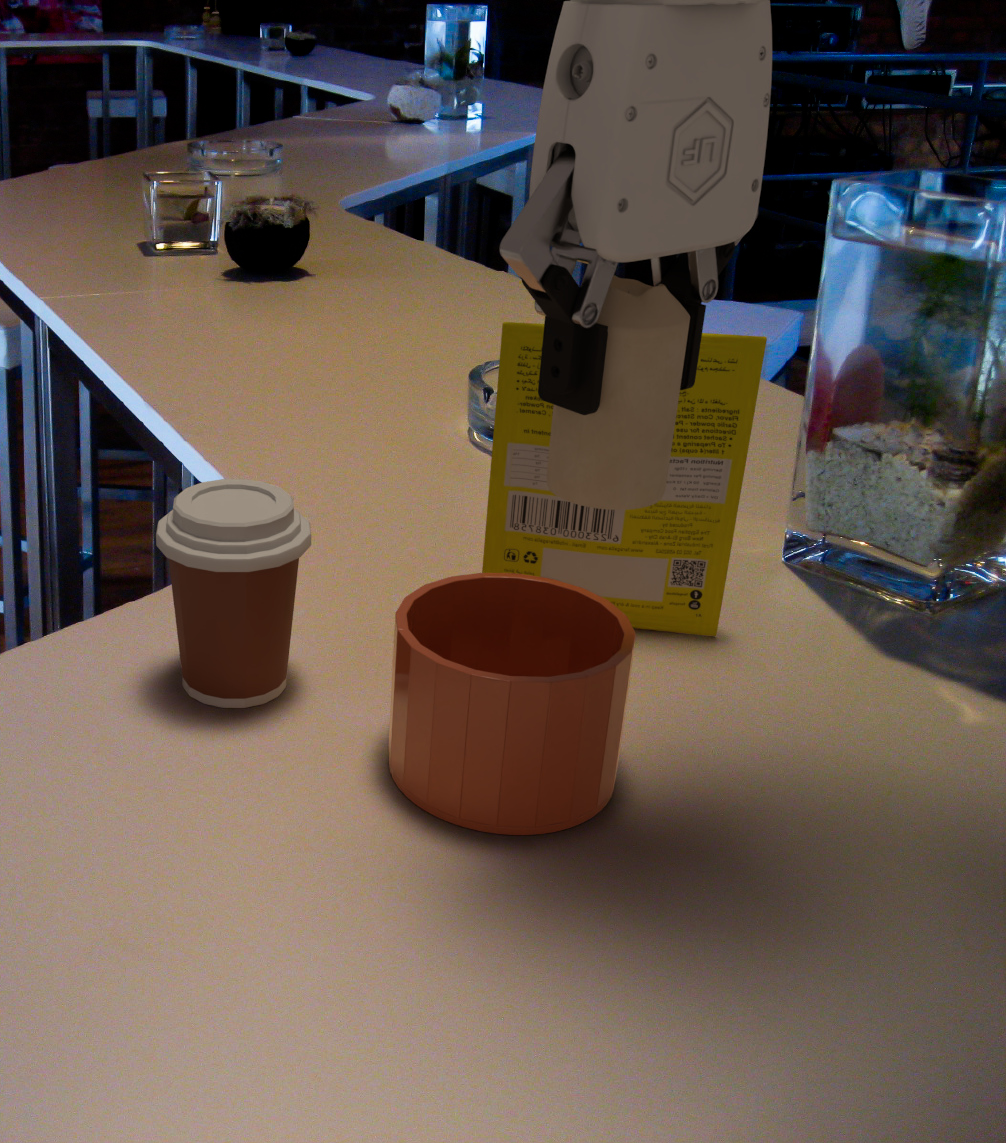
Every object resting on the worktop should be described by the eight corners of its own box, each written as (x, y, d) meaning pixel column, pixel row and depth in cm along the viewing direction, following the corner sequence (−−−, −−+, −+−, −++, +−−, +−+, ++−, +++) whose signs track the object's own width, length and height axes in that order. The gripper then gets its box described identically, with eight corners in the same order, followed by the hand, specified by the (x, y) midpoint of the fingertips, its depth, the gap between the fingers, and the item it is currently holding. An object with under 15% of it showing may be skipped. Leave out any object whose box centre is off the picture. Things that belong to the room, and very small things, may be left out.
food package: (715, 632, 88) (766, 334, 79) (716, 641, 87) (768, 339, 78) (479, 609, 91) (503, 319, 82) (478, 616, 90) (502, 324, 81)
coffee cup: (295, 728, 77) (298, 538, 72) (142, 711, 79) (135, 524, 74) (319, 653, 85) (323, 477, 80) (180, 639, 87) (176, 466, 82)
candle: (686, 488, 64) (717, 279, 59) (626, 521, 60) (655, 301, 56) (585, 459, 67) (607, 260, 63) (522, 489, 64) (542, 280, 59)
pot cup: (504, 689, 81) (517, 554, 77) (662, 785, 72) (686, 638, 68) (344, 750, 75) (349, 608, 71) (494, 864, 66) (509, 707, 62)
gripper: (588, -33, 47) (540, 454, 54) (880, -39, 55) (803, 383, 63) (444, -36, 52) (420, 406, 60) (730, -42, 61) (676, 346, 69)
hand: (616, 390), depth 61 cm, fingers closed on candle, 5 cm apart
